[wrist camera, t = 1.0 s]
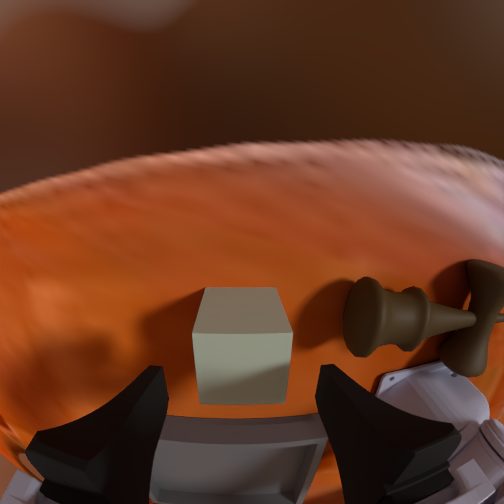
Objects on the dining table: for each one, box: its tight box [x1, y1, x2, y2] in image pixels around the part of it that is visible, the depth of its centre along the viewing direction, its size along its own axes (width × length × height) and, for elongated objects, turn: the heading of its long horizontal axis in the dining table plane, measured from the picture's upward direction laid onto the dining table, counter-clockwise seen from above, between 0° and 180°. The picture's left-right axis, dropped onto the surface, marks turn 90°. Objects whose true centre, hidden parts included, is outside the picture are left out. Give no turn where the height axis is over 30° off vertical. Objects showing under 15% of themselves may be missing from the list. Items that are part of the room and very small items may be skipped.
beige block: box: [192, 287, 293, 405], centre depth 15 cm, size 4×4×6 cm
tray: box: [149, 414, 328, 504], centre depth 20 cm, size 18×16×3 cm
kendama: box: [343, 259, 504, 377], centre depth 17 cm, size 6×10×20 cm
